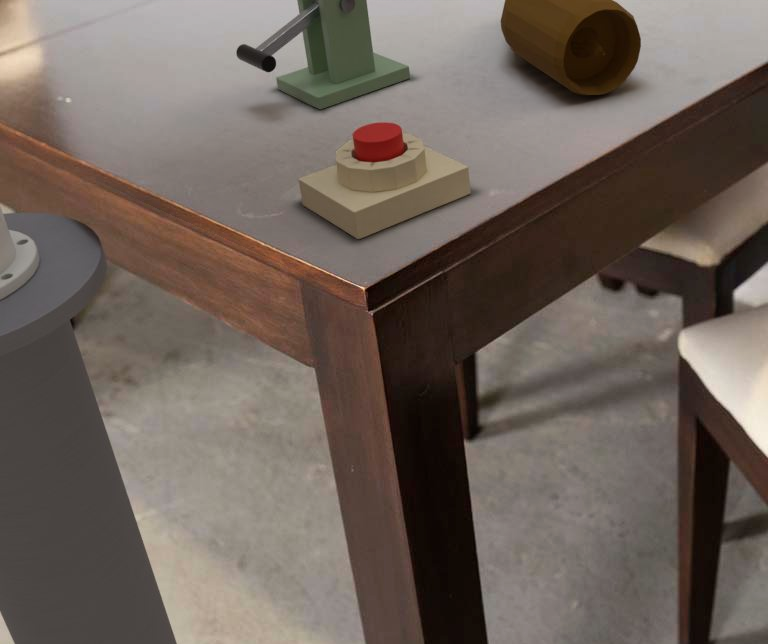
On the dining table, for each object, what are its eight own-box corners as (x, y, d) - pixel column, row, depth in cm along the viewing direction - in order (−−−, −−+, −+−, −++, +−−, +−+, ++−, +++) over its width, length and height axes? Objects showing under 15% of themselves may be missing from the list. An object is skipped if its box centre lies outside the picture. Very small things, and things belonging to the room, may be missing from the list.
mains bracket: (319, 110, 100) (302, 0, 94) (277, 89, 106) (259, -15, 100) (410, 78, 104) (399, -29, 98) (365, 60, 110) (351, -42, 104)
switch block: (358, 240, 78) (350, 188, 76) (302, 205, 84) (293, 156, 82) (470, 193, 82) (466, 143, 80) (410, 163, 88) (405, 115, 86)
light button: (372, 169, 79) (369, 146, 78) (346, 155, 82) (343, 132, 81) (413, 153, 80) (411, 130, 79) (386, 140, 83) (384, 117, 82)
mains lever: (269, 80, 98) (256, 57, 96) (243, 67, 101) (230, 45, 100) (362, 5, 99) (351, -18, 98) (334, -4, 103) (323, -27, 101)
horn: (523, 41, 116) (642, 117, 96) (439, 12, 112) (546, 86, 92) (554, -35, 113) (683, 28, 93) (469, -67, 108) (586, -9, 88)
